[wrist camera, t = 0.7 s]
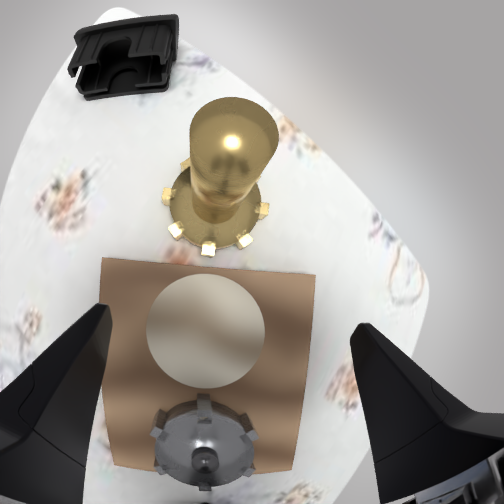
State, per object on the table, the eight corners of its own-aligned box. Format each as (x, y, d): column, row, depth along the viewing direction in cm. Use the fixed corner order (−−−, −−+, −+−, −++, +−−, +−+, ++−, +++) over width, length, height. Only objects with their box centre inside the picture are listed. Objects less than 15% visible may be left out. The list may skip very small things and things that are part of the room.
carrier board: (287, 462, 22) (292, 471, 20) (117, 456, 18) (113, 466, 17) (308, 275, 23) (317, 274, 22) (107, 258, 20) (100, 257, 19)
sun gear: (247, 470, 19) (256, 498, 15) (159, 468, 18) (155, 496, 14) (253, 394, 20) (266, 417, 16) (152, 389, 19) (144, 412, 15)
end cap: (179, 47, 23) (179, 3, 17) (172, 92, 23) (169, 45, 16) (96, 57, 21) (83, 18, 15) (80, 102, 21) (58, 63, 14)
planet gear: (204, 277, 22) (212, 279, 10) (146, 197, 21) (100, 118, 9) (281, 218, 23) (362, 163, 11) (224, 145, 23) (252, 43, 11)
